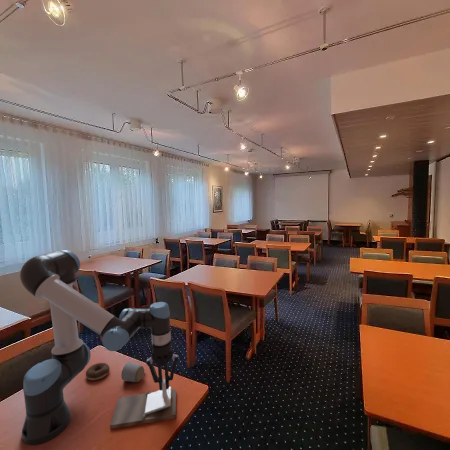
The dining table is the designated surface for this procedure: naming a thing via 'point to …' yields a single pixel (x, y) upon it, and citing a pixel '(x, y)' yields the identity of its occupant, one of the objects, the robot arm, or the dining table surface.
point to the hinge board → (140, 411)
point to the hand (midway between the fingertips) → (164, 396)
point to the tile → (157, 401)
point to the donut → (97, 371)
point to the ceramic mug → (132, 372)
